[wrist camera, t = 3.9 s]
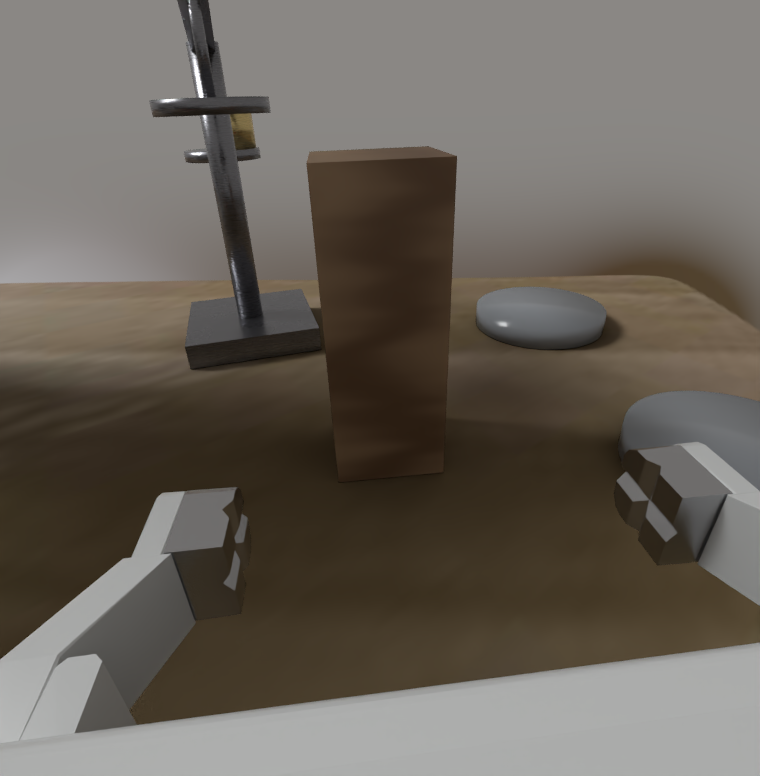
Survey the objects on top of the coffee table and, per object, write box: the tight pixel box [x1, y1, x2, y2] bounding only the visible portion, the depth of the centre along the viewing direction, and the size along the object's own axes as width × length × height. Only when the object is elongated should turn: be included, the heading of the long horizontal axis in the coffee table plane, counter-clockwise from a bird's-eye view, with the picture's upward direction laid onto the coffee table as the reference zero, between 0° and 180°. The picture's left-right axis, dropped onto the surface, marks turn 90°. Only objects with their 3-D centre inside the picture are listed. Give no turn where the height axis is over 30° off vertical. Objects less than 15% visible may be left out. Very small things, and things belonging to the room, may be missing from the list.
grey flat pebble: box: [476, 287, 606, 350], centre depth 33 cm, size 8×8×1 cm
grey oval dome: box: [618, 391, 760, 491], centre depth 19 cm, size 8×8×1 cm
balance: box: [149, 0, 321, 369], centre depth 29 cm, size 8×18×18 cm, turn 16°
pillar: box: [307, 146, 457, 482], centre depth 19 cm, size 4×4×12 cm
